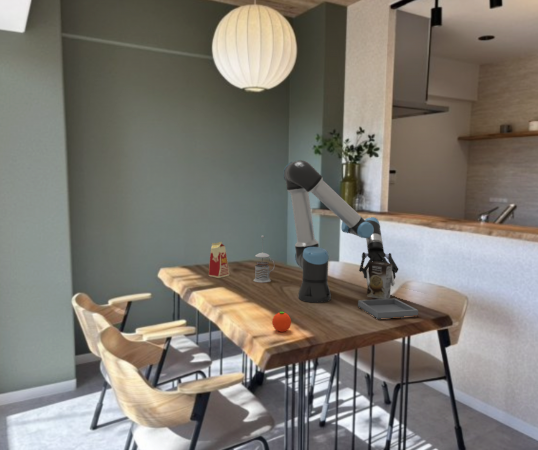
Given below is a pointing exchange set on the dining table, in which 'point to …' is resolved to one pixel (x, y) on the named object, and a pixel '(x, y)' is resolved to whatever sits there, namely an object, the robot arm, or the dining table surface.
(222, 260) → the milk carton
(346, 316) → the dining table surface
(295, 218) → the robot arm
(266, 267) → the french press
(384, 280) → the coffee box
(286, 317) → the clementine
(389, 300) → the tray
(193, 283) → the dining table surface
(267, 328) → the dining table surface
